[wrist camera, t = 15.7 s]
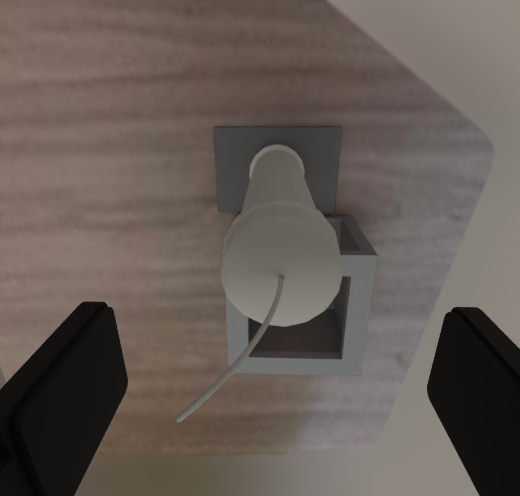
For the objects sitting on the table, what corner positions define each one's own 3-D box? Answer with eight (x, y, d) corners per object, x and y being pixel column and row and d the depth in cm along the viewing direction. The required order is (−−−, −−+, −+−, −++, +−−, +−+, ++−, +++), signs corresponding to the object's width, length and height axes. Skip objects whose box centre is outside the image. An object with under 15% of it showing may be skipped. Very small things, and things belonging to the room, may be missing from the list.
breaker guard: (236, 214, 39) (223, 253, 29) (350, 215, 39) (377, 255, 29) (239, 311, 44) (229, 372, 34) (340, 313, 44) (360, 376, 34)
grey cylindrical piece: (311, 180, 37) (422, 419, 9) (259, 205, 38) (223, 480, 11) (288, 132, 35) (345, 253, 7) (235, 160, 36) (115, 353, 9)
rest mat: (214, 127, 36) (213, 127, 35) (340, 126, 35) (341, 127, 35) (218, 210, 39) (218, 212, 39) (333, 211, 39) (334, 212, 38)
